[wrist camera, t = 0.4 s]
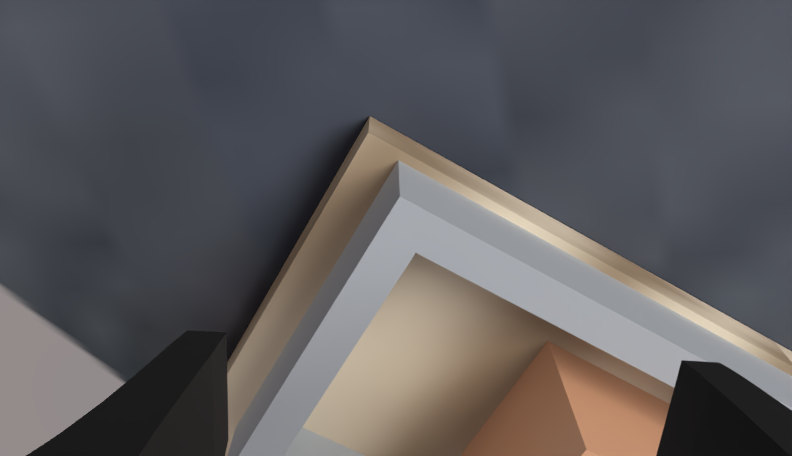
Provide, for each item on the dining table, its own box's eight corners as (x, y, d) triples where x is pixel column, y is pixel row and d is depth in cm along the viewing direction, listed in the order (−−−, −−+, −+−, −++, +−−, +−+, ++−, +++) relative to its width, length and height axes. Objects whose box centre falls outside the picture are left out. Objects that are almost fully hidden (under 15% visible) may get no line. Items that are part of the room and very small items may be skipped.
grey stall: (792, 376, 22) (840, 433, 19) (595, 587, 25) (616, 657, 23) (398, 160, 19) (399, 196, 17) (235, 428, 22) (217, 489, 20)
